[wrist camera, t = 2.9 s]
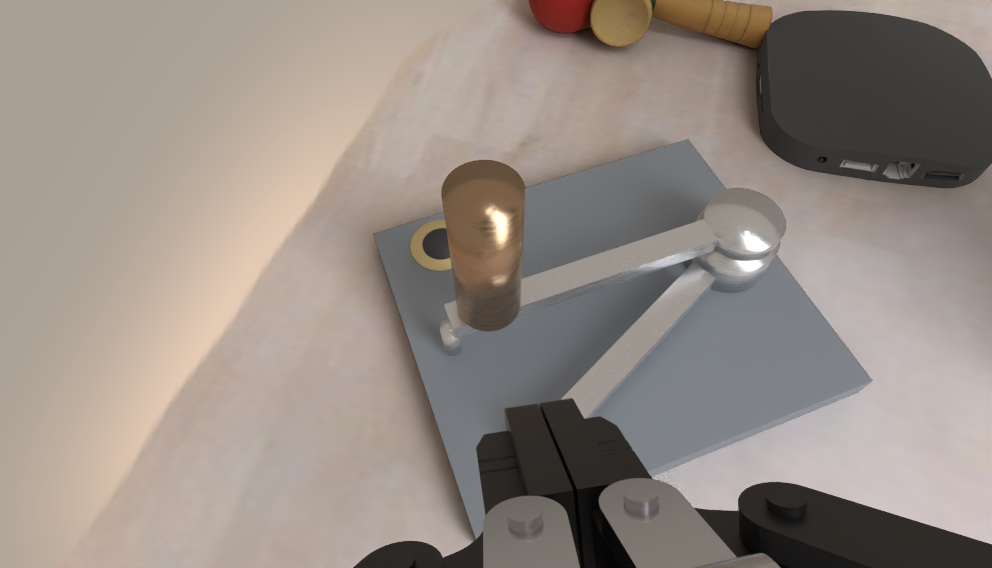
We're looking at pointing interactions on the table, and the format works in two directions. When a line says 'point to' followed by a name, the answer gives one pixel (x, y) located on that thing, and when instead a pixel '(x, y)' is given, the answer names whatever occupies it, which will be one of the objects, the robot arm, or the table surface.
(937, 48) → the media streaming box
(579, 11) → the kendama
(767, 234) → the crank handle
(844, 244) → the table surface
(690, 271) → the divider pivot
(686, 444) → the hole plate
